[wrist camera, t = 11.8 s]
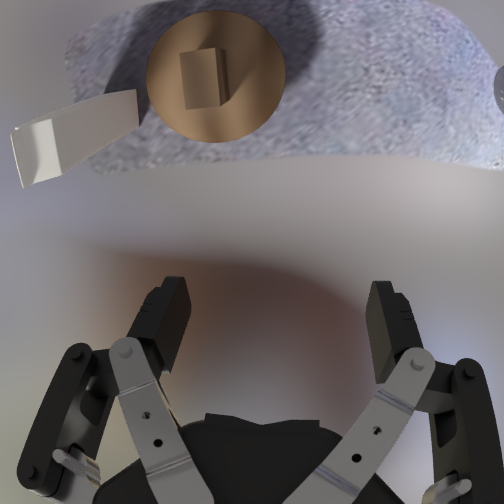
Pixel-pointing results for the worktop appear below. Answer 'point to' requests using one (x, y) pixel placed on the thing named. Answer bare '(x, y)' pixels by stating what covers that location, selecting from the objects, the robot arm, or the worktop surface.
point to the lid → (215, 76)
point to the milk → (72, 134)
